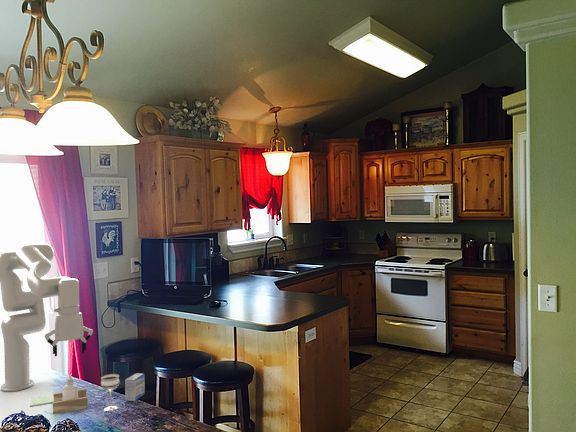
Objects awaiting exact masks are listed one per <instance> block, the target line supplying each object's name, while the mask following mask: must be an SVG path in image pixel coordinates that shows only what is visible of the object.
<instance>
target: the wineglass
mask: <svg viewBox="0 0 576 432" xmlns="http://www.w3.org/2000/svg"><path fill="white" fill-rule="evenodd" d="M119 377H120V375H119V374H117V373H110V374H105V375H103V376H101V377H100V379H101V381H100V386H101V388H102V389H103V390H104V391H107V392H108V395H109V396H108V397H109V405H107V406H106V407H104V408H103V410H104V411H106V412H107V411H108V412H110V411H115V410H117V409H118V406H117V405H112V392H113V391H114V390H116V389H117V388H118V387H119V385H120V378H119Z"/></svg>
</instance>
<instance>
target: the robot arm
mask: <svg viewBox="0 0 576 432" xmlns="http://www.w3.org/2000/svg"><path fill="white" fill-rule="evenodd" d="M54 256H55V251H54V248H53V247H52V245H50V244H48V243H44V242H42V243H28V244H27V243H26V244H23V245H21V246H19V247H18V248H17V249H13V250H11V249H10V250H4V251H2V252H0V291H1V292H0V293H1V301H2V302H1V303H2V305H3V306H2V307H3V309H4V310H5V312H8V313H14V312H21V311H25V310H28V311H29V312H23V313H18V314H17V313H16V314H12V315H9V316H7V317H5V318H3V320H2V321H1V325H0V326H1V327H0V328H1V333H2V337H3V347H4V348H3V349H4V351H3V352H4V356H3V357H4V383H3V384H1V386H0V390H1V391H2V392H16V391H21V390H22V391H23V390H25V389H29V388H31V387H32V386H33V385H34V384H35V382H34V380H32V379H30V375H31V374H30V373H31V371H30V344H29V342H28V341H27V339H25V337H24V336H27V335H30V334H34V333H35V334H36V333H39V332H42V331H43V330H44V329H45V327H46V314H45V313H46V312H45V303H44V299H47V298H53V297H57V304H58V305H57V306H58V307H56V308H54V309H53V311H54V313H57V314H56V315H55V322H54V329H53V330H51V331H49V332H47V333H46V334H44V339H45V340H46V342H47V343H48V344H50V345H51V346H52V355H54V357H57V356H58V345H57V344H58V342H66V341H74V340H76V341H77V340H81V353H82V354H84V353H85V351H86V350H87V344H86V343H87V341H89V339H90V338H92V337H91V336H92V335H93V333H94V330H93V329H92V328H89V327H86V326H84V320H83V314H82V312H80V281H79V280H78V279H77V278H71V277H69V276H57V277H56V276H55V277H47V278H42V277H44V276H45V275H47V274H48V273H49V272H50V271H51V268H52V263H51V262H52V260H53V259H54ZM22 269H23V270H24V269H26V270H27V271H28V273H27V277H26V282H27V286H28V287H27V288H24V284H23V278H22V277H21V275H20V274H19V273H18V272H17V271H16V270H22ZM85 332H88V334H87V335H86V336H84V335H85V334H84V333H85ZM53 335H54V340H53V339H51V338H50V337H51V336H53Z"/></svg>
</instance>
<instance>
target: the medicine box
mask: <svg viewBox="0 0 576 432" xmlns="http://www.w3.org/2000/svg"><path fill="white" fill-rule="evenodd" d="M124 383H125V384H124V392H125V393H124V394H125V401H128V402H136V401H138V400H139V399H141V398H142V397H143V396H144V395H145V394H146V391H145V389H146V388H145V387H146V386H145V384H146V382H145V373H140V372H139V373H138V372H137V373H134V374H132V375H130V376H129V377H127V378H126V379H124Z"/></svg>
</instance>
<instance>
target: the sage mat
mask: <svg viewBox="0 0 576 432" xmlns="http://www.w3.org/2000/svg"><path fill="white" fill-rule="evenodd" d="M53 402H54V393H53V394H46V395H41V396H34V397H31V398H30V402H29V407H30V408H31V407H36V406H43V405H49V404H53Z"/></svg>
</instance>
